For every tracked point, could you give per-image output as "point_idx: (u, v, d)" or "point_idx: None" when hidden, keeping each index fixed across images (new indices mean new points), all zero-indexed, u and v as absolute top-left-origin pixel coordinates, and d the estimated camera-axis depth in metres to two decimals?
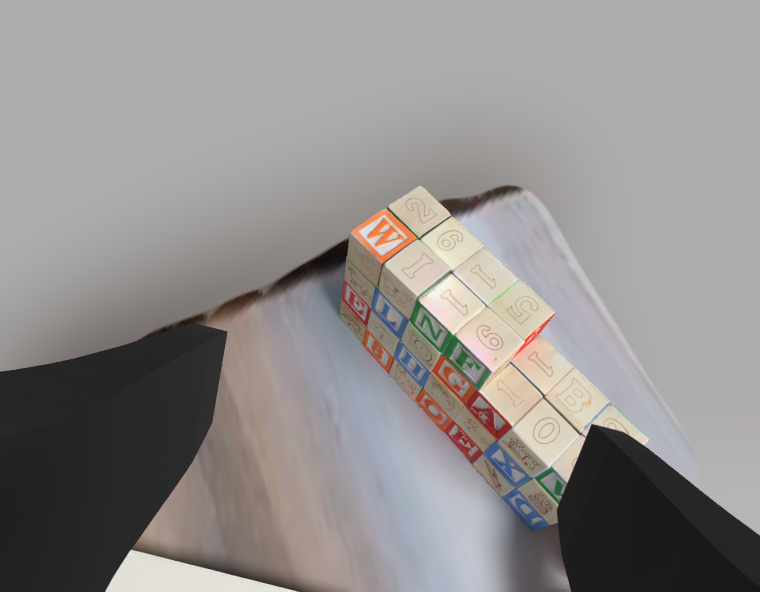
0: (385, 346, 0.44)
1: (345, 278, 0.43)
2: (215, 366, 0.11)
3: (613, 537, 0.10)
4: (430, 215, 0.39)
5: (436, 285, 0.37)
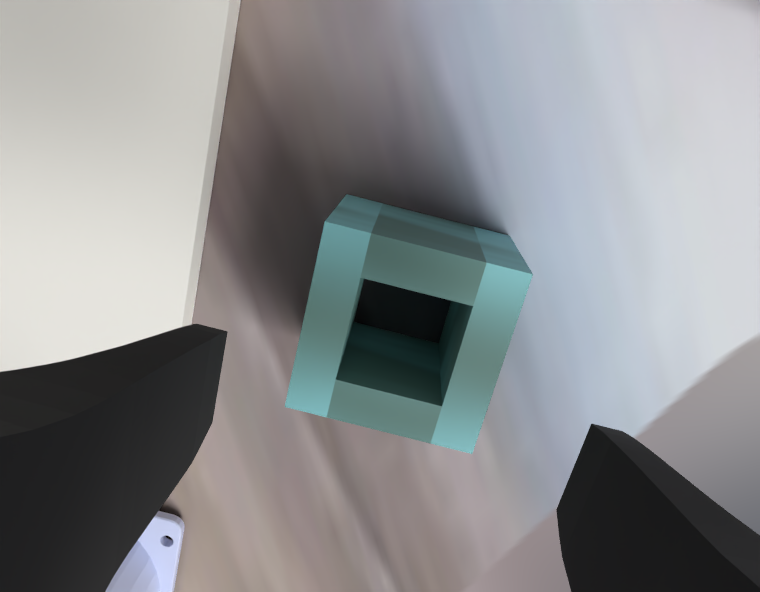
0: None
1: None
2: (215, 366, 0.11)
3: (613, 537, 0.10)
4: None
5: None
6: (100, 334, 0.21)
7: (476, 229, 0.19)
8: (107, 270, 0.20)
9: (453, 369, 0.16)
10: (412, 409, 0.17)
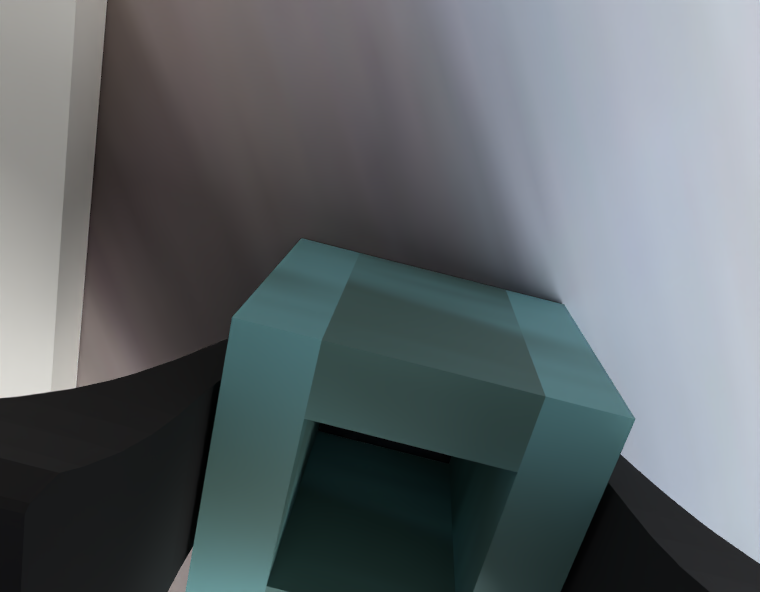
0: None
1: None
2: None
3: None
4: None
5: None
6: None
7: (511, 296, 0.12)
8: None
9: (478, 574, 0.09)
10: None
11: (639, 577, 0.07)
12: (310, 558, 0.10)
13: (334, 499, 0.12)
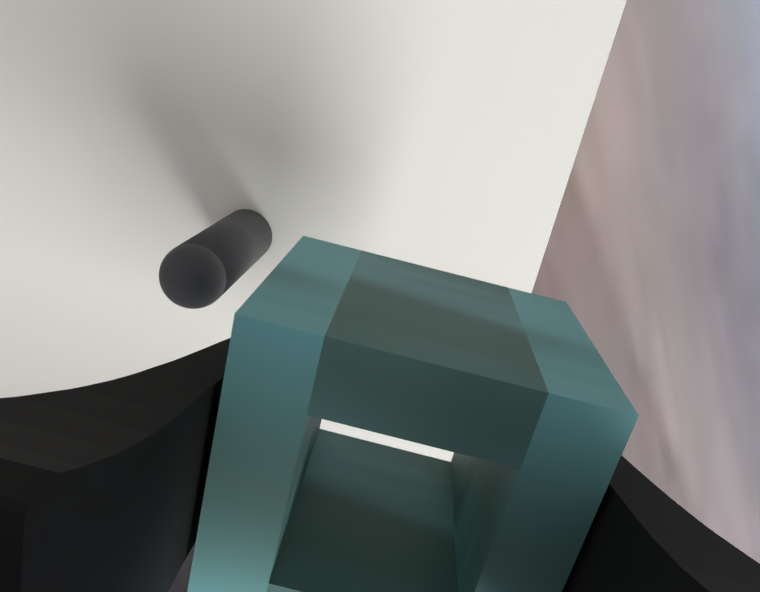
0: None
1: None
2: None
3: None
4: None
5: None
6: (401, 439, 0.21)
7: (513, 294, 0.12)
8: None
9: (481, 572, 0.09)
10: None
11: (639, 577, 0.07)
12: (312, 555, 0.10)
13: (336, 497, 0.12)
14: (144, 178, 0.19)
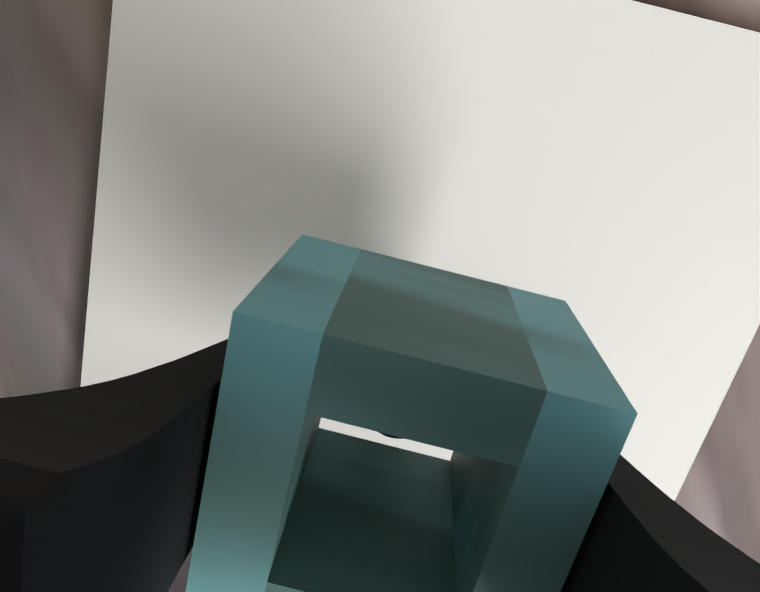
0: None
1: None
2: None
3: None
4: None
5: None
6: None
7: (512, 292, 0.12)
8: None
9: (480, 570, 0.09)
10: None
11: (639, 577, 0.07)
12: (311, 554, 0.10)
13: (335, 495, 0.12)
14: None
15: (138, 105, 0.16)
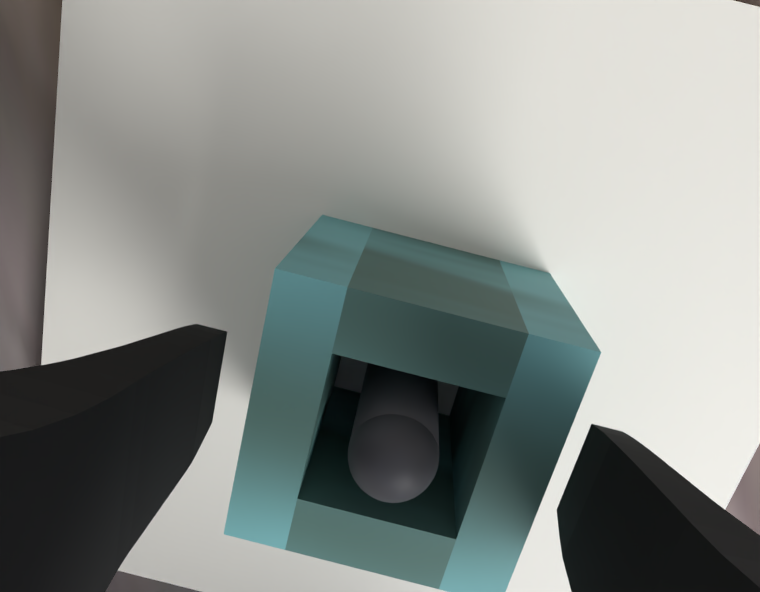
0: None
1: None
2: (215, 366, 0.11)
3: (613, 537, 0.10)
4: None
5: None
6: None
7: (504, 265, 0.14)
8: None
9: (474, 487, 0.11)
10: (412, 542, 0.11)
11: None
12: (332, 480, 0.12)
13: None
14: None
15: (95, 106, 0.14)
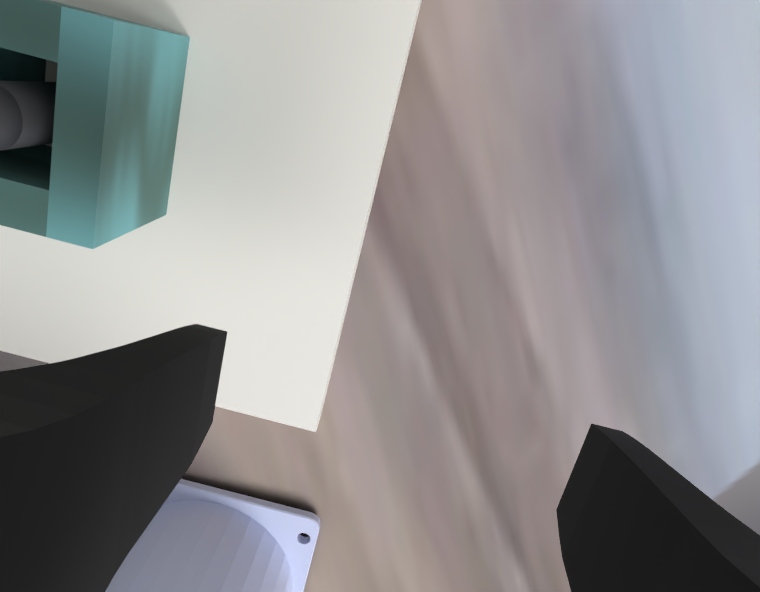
0: None
1: None
2: (215, 366, 0.11)
3: (613, 537, 0.10)
4: None
5: None
6: (257, 332, 0.21)
7: None
8: (270, 268, 0.20)
9: (54, 144, 0.15)
10: (18, 194, 0.15)
11: None
12: None
13: (19, 156, 0.17)
14: None
15: None
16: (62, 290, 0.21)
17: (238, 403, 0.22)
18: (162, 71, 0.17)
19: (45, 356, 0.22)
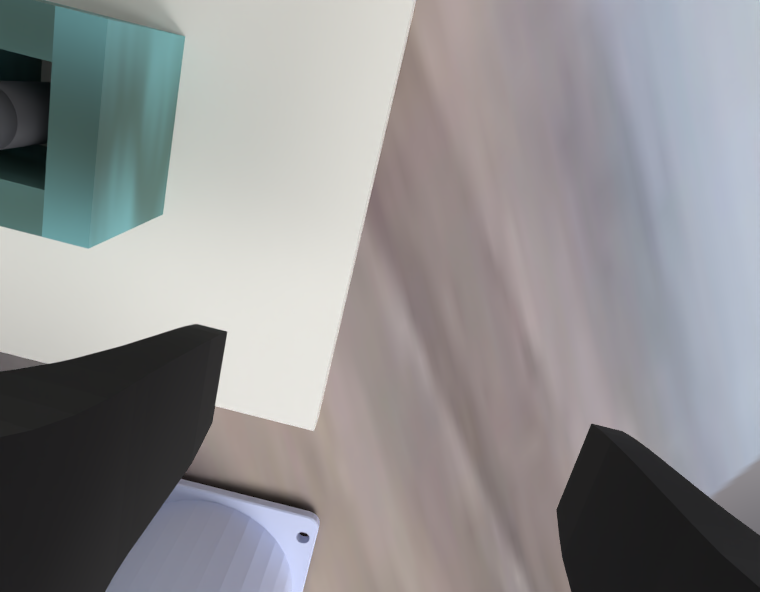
0: None
1: None
2: (215, 366, 0.11)
3: (613, 537, 0.10)
4: None
5: None
6: (255, 331, 0.21)
7: (142, 25, 0.17)
8: (267, 266, 0.20)
9: (49, 144, 0.15)
10: (13, 194, 0.15)
11: None
12: None
13: (15, 156, 0.17)
14: None
15: None
16: (59, 290, 0.21)
17: (236, 403, 0.22)
18: (157, 70, 0.17)
19: (43, 356, 0.22)
